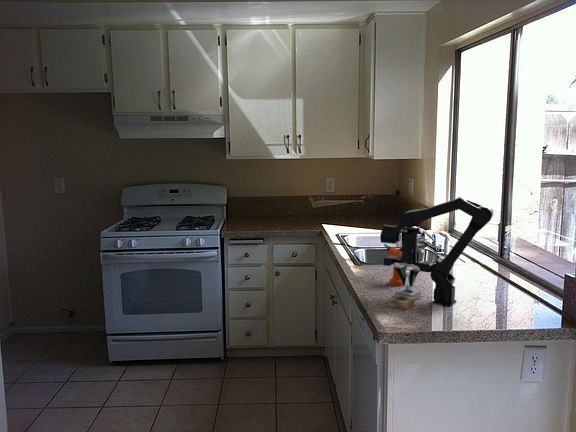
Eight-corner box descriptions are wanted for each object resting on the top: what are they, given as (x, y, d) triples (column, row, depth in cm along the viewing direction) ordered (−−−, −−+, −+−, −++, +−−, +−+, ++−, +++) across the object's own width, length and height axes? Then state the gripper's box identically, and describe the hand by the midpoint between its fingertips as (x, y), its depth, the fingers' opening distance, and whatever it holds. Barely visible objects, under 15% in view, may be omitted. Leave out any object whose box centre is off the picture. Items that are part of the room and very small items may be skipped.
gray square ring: (420, 297, 192) (420, 290, 192) (412, 302, 187) (412, 295, 187) (403, 293, 197) (403, 287, 196) (394, 298, 191) (394, 291, 191)
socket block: (415, 304, 184) (415, 297, 184) (406, 309, 179) (406, 302, 178) (397, 300, 189) (397, 294, 188) (388, 305, 183) (388, 299, 183)
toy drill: (388, 270, 225) (390, 237, 221) (405, 288, 207) (409, 253, 203) (377, 271, 224) (379, 238, 220) (394, 288, 206) (397, 253, 202)
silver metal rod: (412, 295, 192) (412, 274, 191) (409, 296, 190) (409, 275, 189) (406, 293, 193) (406, 273, 192) (403, 295, 192) (403, 274, 190)
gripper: (442, 244, 189) (440, 285, 192) (396, 238, 201) (395, 277, 203) (430, 249, 181) (428, 292, 183) (382, 243, 192) (381, 283, 195)
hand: (408, 286), depth 191 cm, fingers closed on silver metal rod, 2 cm apart
